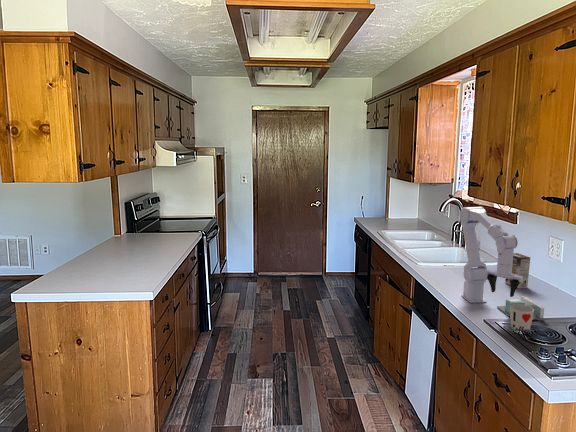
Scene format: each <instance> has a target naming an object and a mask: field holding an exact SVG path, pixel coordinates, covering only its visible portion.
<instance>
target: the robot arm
mask: <svg viewBox="0 0 576 432" xmlns="http://www.w3.org/2000/svg"><path fill="white" fill-rule="evenodd" d="M458 215H459V221H460V225H461V226H462V233H463V238H464V244H465V250H466V251H465V252H466V255H467V256H466V257H467V260H468V262H467V263H466V264H464V265H463V278H464V279H465V281H464V283H463V293H462V294H461V297H462V298H464V299H465V300H466V301H468V302H469V303H470V304H471V303H487V300H486V299H485V298H484V292H485V291H484V289H485V288H484V287H485V283H486V282H487V281H488V284H489V285H490V290H491V293H495V292H496V288H497V287H496V286H497V280H498V277H499V278H502V279H506V278H507V279H511V280H513V281H510V285H509V286H510V292H509V297H510V298H513V297H514V296H515V293H516V290H517V289H518V288H517V287H518V285H519V284H520V282H522V281H523V277H522V276H518V275H515V274H512V264H513V253H515V252H514V249H516V248H517V246H518V239H517V237H516V236H515V235H514V234H510V233H508V232H507V231H506V230H505V229H504V228H503V227H502V225H501V224H498V223H494V222H493V220H492V219H491V218H490V217H489V216H488V215H487V210H486V209H485V208H484V207H483V206H471V207H470V206H469V207H468V206H467V207H465V206H463V207H461V209H460V211H459V213H458ZM479 224H481V225H482V226H483V227H484V228H485V229H487V234H488V235H489V236H490V237H491V238H492V239H493V240H494V241H495V246H496V252H497V261H496V262H497V264H496V269H488V267H487V264H486V263H485V262H483V261H482V260H481V255H480V252H479V245H478V241H477V233H476V226H478V225H479Z"/></svg>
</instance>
